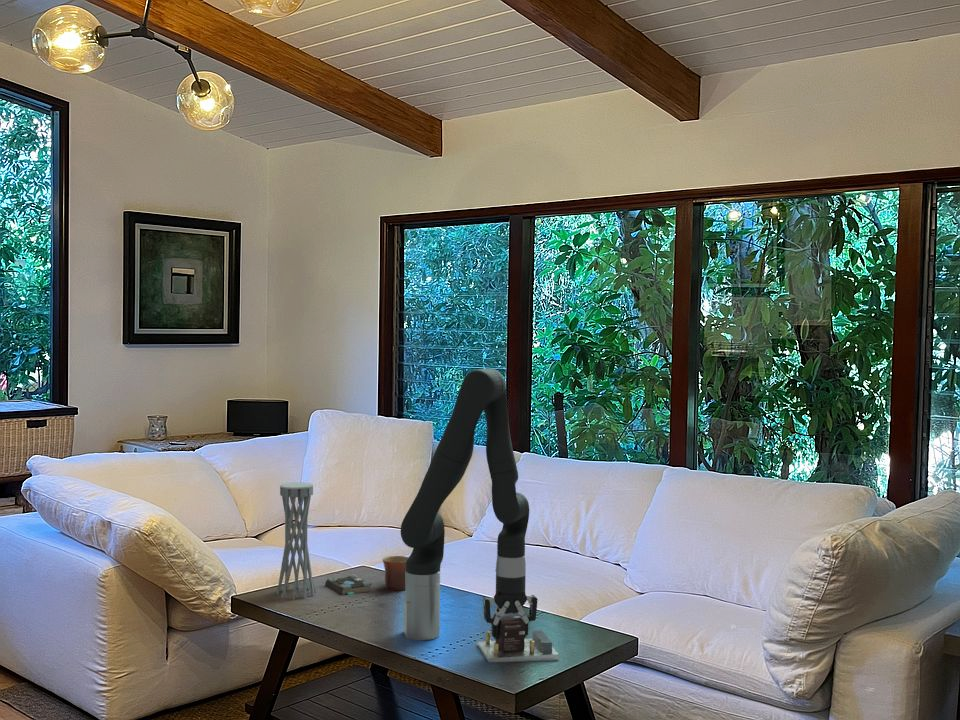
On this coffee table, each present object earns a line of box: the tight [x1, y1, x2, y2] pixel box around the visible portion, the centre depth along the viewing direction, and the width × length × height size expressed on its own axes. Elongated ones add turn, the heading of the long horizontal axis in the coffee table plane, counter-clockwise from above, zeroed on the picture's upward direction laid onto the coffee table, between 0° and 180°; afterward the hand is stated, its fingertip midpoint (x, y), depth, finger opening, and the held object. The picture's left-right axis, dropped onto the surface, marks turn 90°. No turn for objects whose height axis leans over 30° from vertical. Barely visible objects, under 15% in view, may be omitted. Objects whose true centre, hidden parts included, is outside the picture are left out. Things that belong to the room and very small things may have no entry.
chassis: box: [476, 630, 560, 663], centre depth 245 cm, size 18×13×4 cm
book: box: [324, 574, 373, 596], centre depth 298 cm, size 20×12×5 cm, turn 33°
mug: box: [382, 555, 409, 592], centre depth 303 cm, size 12×9×10 cm
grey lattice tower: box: [275, 481, 317, 600], centre depth 290 cm, size 14×13×35 cm
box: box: [495, 615, 526, 652], centre depth 244 cm, size 6×6×7 cm
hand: (509, 637), depth 245 cm, fingers open, 6 cm apart
